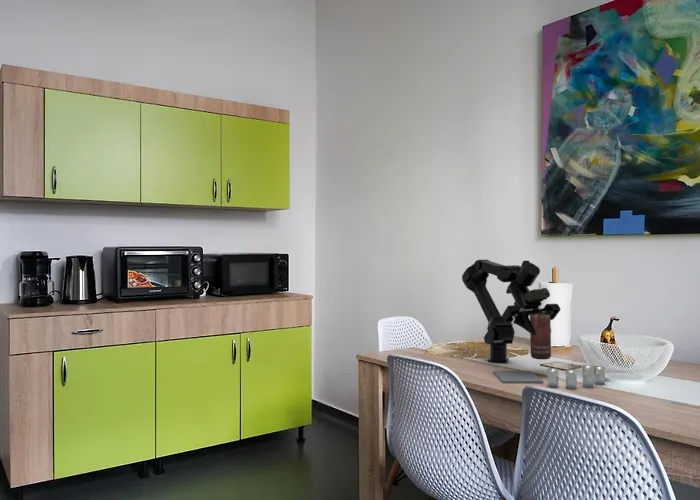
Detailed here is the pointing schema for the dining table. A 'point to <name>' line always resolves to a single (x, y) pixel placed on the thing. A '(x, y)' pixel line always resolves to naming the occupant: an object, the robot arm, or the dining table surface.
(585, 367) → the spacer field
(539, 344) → the can
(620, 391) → the dining table surface
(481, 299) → the robot arm
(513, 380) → the mat
